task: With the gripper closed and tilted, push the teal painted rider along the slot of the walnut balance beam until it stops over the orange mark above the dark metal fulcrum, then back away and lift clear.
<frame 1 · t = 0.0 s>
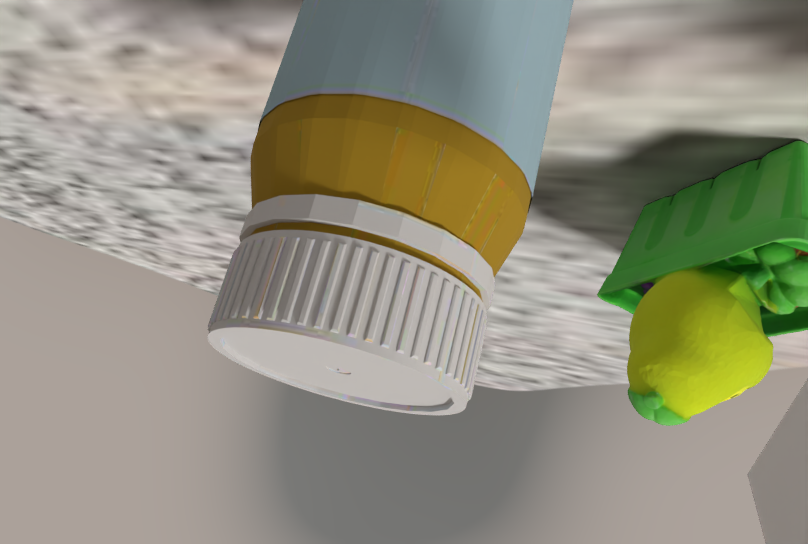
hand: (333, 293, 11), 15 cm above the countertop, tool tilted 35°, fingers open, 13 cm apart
fruit basket: (744, 188, 34), on the countertop
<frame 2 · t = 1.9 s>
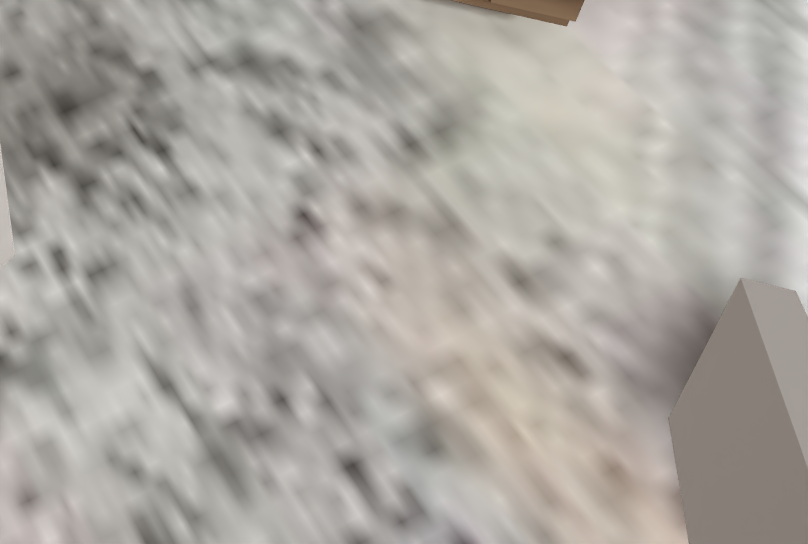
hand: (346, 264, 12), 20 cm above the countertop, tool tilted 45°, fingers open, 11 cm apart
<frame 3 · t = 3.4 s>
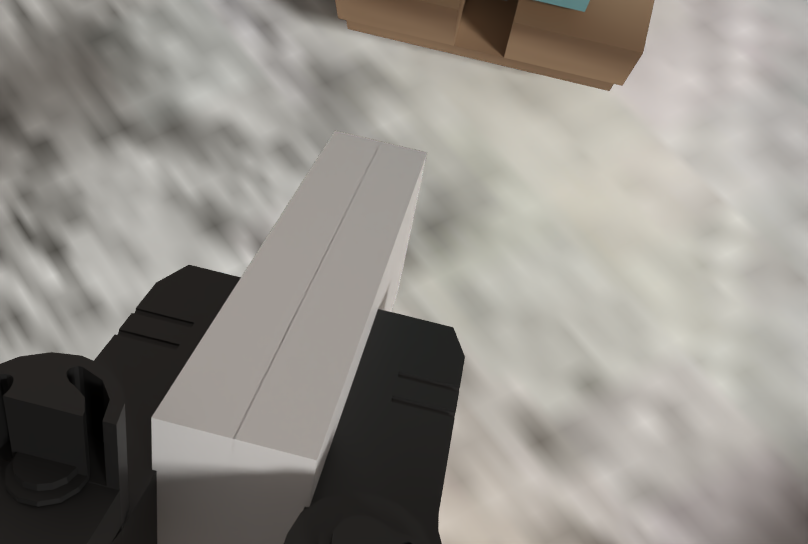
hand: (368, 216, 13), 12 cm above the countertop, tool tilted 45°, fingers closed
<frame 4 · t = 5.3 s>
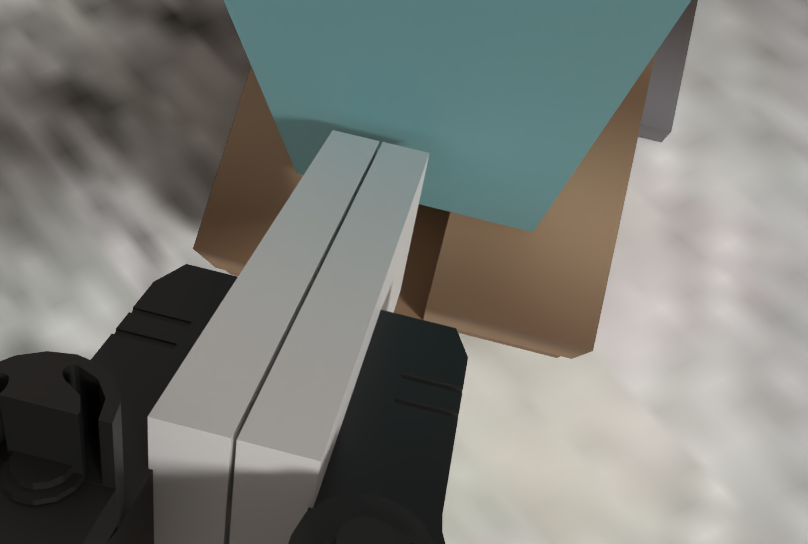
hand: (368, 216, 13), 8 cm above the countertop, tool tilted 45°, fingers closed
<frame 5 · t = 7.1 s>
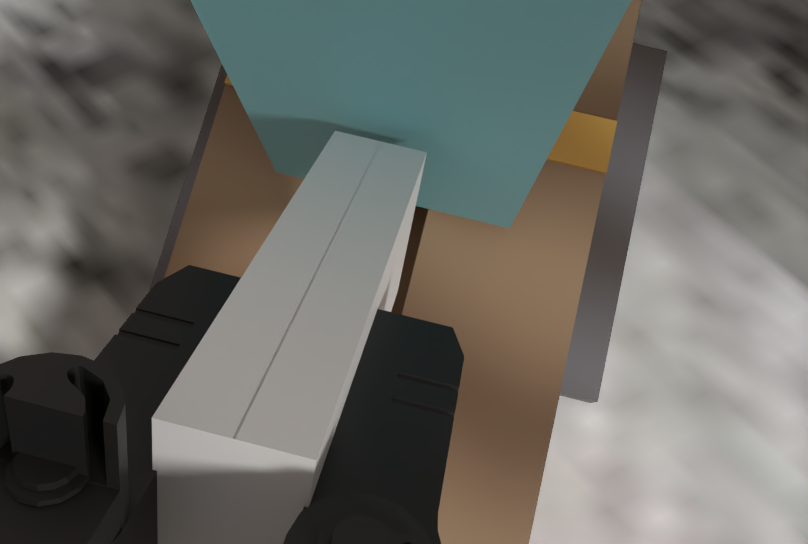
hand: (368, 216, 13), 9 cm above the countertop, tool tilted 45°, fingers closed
balance beam: (416, 176, 22), on the countertop
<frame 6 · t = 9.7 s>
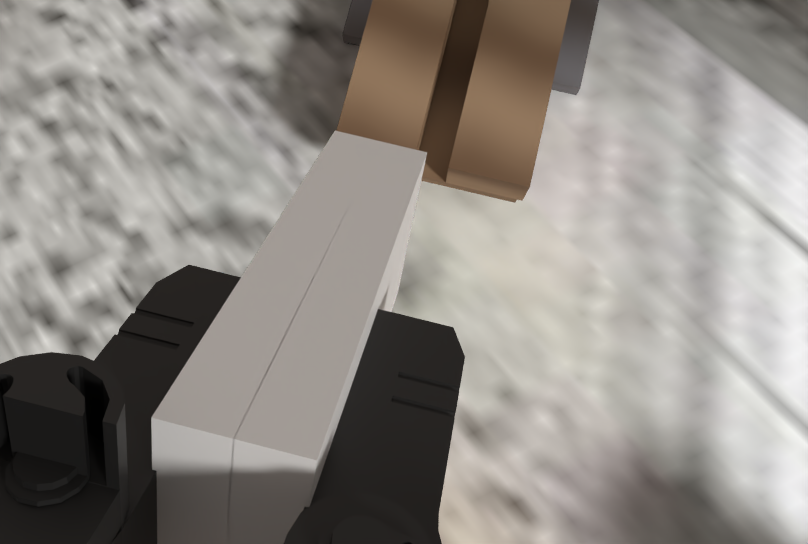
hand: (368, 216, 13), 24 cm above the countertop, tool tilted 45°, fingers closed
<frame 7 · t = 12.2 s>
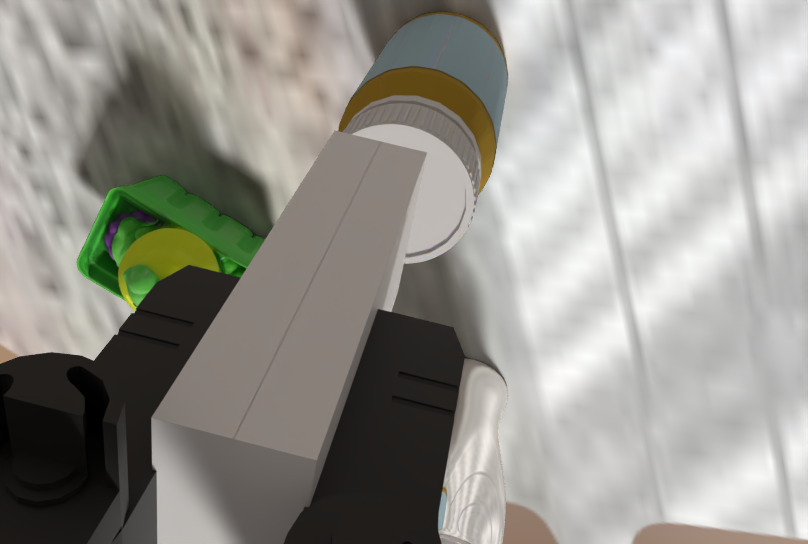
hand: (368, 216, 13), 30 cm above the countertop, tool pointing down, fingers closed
bottle: (445, 72, 43), on the countertop
fruit basket: (211, 230, 51), on the countertop
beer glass: (465, 389, 55), on the countertop
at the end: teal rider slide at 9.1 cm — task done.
